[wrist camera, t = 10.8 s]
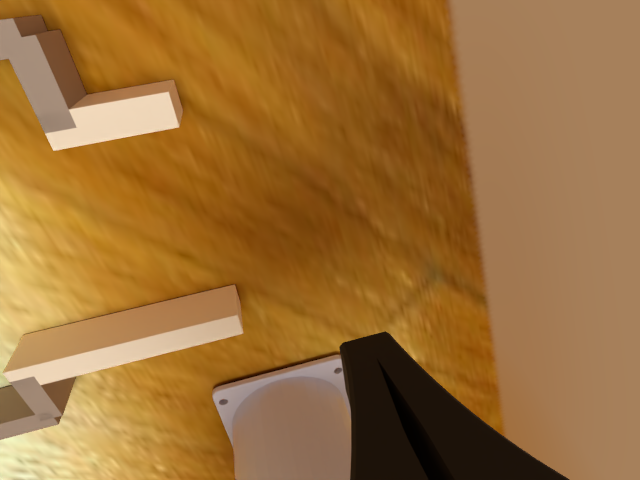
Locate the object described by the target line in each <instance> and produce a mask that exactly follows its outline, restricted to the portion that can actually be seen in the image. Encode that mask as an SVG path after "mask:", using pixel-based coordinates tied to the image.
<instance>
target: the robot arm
mask: <svg viewBox="0 0 640 480" xmlns="http://www.w3.org/2000/svg"><path fill="white" fill-rule="evenodd" d="M340 354H341V355H333V356H330V357H326V358H322V359H318V360H315V361H311V362H307V363H303V364H300V365H296V366H292V367H289V368H285V369H281V370H277V371H274V372H270V373H266V374H262V375H259V376H255V377H251V378H248V379H244V380H240V381H236V382H233V383H229V384H225V385H221V386H218V387H216V388H215V389H214V390H213V392H212V396H213V400H214V403H215V405H216V408H217V410H218V412H219V415H220V417H221V420H222V422H223V425H224V427H225V430H226V432H227V434H228V437H229V439H230V442H231V444H232V447H233V450H234V469H235V480H569V479H568V478H566V477H564V476H563V475H561V474H559V473H558V472H556V471H555V470H553V469H551V468H550V467H548V466H547V465H545V464H543V463H542V462H540V461H538V460H537V459H535V458H534V457H532V456H531V455H530V454H528V453H526V452H525V451H523V450H522V449H521V448H519V447H517V446H516V445H515V444H513V443H512V442H511V441H509V440H508V439H506V438H505V437H504V436H502V435H501V434H500V433H498V432H497V431H495V430H494V429H493V428H491V427H490V426H489V425H487V424H486V423H485V422H484V421H482V420H481V419H480V418H479V417H477V416H476V415H475V414H473V413H472V412H471V411H470V410H469V409H467V408H466V407H465V406H464V405H463V404H461V403H460V402H459V401H458V400H457V399H455V398H454V397H453V396H452V395H451V394H450V393H448V392H447V391H446V390H445V389H444V388H443V387H442V386H441V385H440V384H439V383H437V382H436V381H435V380H434V379H433V378H432V377H431V376H430V375H429V374H428V373H427V372H426V371H425V370H424V369H422V368H421V367H420V366H419V365H418V364H417V363H416V362H415V361H414V360H413V359H412V358H411V357H410V356H409V354H408V353H407V352H406V351H405V350H404V349H403V348H402V347H401V346H400V345H399V344H398V343H397V342H396V341H395V339H394V338H393V337H392V336H391V335H390V334H389V333H387V332H382V333H378V334H374V335H371V336H367V337H363V338H359V339H355V340H352V341H348V342H344V343H342V345H341V346H340ZM336 368H338V369H336ZM222 399H224V400H222Z"/></svg>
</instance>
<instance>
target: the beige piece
mask: <svg viewBox="0 0 640 480" xmlns="http://www.w3.org/2000/svg"><path fill="white" fill-rule="evenodd" d="M4 59H9V60H10V62H11V64H12V66H13V68H14V71H15V73H16V75H17V77H18V79H19V81H20V83H21V85H22V87H23V89H24V91H25V93H26V95H27V97H28V99H29V101H30V103H31V105H32V107H33V110H34V112H35V114H36V116H37V118H38V120H39V122H40V124H41V126H42V128H43V130H44V132H45V134H46V136H47V138H48V140H49V142H50V144H51V147H52V149H53V151H55V150H61V149H66V148H71V147H77V146H82V145H87V144H93V143H98V142H103V141H108V140H114V139H119V138H124V137H130V136H135V135H140V134H146V133H151V132H156V131H162V130H167V129H172V128H177V127H180V122H181V118H182V114H183V109H182V106H181V102H180V99H179V96H178V92H177V89H176V86H175V82H174V80H168V81H162V82H157V83H151V84H145V85H139V86H134V87H128V88H122V89H116V90H111V91H105V92H99V93H93V94H88V95H87V93H86V91H85V89H84V86H83V84H82V81H81V79H80V76H79V74H78V72H77V69H76V67H75V64H74V62H73V59H72V57H71V55H70V52H69V50H68V47H67V45H66V42H65V40H64V38H63V35H62V33H61V30H60V29H59V30H53V31H48V30H47V28H46V25H45V23H44V21H43V18H42V16H41V15H35V16H27V17H19V18H11V19H4V20H0V60H4ZM240 334H243V325H242V315H241V305H240V300H239V297H238V293H237V290H236V286H235V284H234V285H230V286H226V287H222V288H218V289H214V290H209V291H205V292H201V293H197V294H193V295H188V296H184V297H180V298H176V299H172V300H167V301H163V302H159V303H155V304H151V305H147V306H142V307H138V308H134V309H130V310H126V311H121V312H117V313H113V314H109V315H105V316H100V317H96V318H92V319H88V320H84V321H80V322H75V323H71V324H67V325H63V326H59V327H54V328H50V329H46V330H42V331H38V332H34V333H29V334H25V335H23V337H22V339H21V340H20V342H19V344H18V346H17V348H16V350H15V351H14V353H13V355H12V357H11V359H10V360H9V362H8V364H7V366H6V368H5V370H4V371H3V374H4V376H5V377H6V378H7V379H8V381H9V382H10V383H11V384H12V386H8V387H4V388H0V440H1V439H5V438H9V437H13V436H16V435H20V434H24V433H28V432H31V431H35V430H39V429H43V428H46V427H50V426H54V425H58V424H59V422H60V419H61V416H63V413H64V410H65V407H66V404H67V401H68V399H69V396H70V393H71V390H72V387H73V384H74V381H75V379H76V376H79V375H83V374H86V373H90V372H94V371H98V370H102V369H106V368H110V367H114V366H118V365H122V364H126V363H130V362H134V361H138V360H142V359H145V358H149V357H153V356H157V355H161V354H165V353H169V352H173V351H177V350H181V349H185V348H189V347H193V346H197V345H200V344H204V343H208V342H212V341H216V340H220V339H224V338H228V337H232V336H236V335H240Z"/></svg>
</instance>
